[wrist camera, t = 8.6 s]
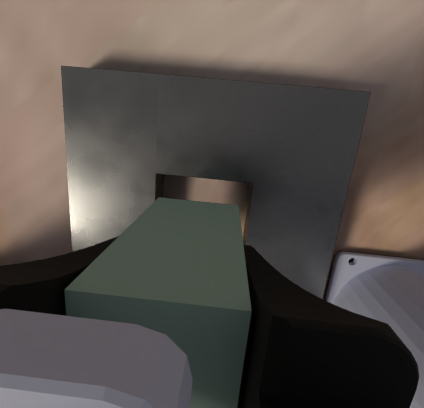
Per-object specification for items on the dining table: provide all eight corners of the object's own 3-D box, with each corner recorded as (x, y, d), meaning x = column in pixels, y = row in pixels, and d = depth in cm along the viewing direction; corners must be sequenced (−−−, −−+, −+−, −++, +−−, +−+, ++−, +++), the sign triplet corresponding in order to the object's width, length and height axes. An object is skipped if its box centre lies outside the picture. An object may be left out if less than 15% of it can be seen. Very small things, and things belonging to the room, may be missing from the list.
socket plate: (353, 96, 15) (370, 91, 13) (302, 328, 20) (310, 349, 18) (81, 73, 16) (60, 65, 14) (90, 302, 20) (76, 321, 18)
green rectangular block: (238, 205, 13) (251, 311, 6) (230, 276, 14) (231, 447, 7) (158, 197, 13) (64, 289, 6) (156, 268, 14) (74, 426, 7)
